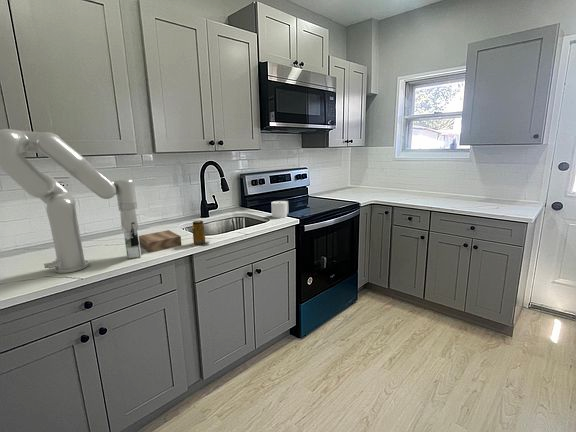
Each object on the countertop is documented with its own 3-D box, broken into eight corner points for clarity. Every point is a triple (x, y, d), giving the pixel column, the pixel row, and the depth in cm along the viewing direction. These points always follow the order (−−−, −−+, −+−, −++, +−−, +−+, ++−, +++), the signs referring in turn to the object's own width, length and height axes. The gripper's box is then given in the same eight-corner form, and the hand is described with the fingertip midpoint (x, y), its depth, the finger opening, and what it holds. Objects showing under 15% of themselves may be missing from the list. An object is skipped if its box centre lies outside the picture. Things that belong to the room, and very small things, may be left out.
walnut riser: (149, 252, 155) (148, 243, 153) (139, 245, 166) (138, 236, 165) (181, 245, 165) (180, 236, 164) (169, 238, 176) (168, 230, 175)
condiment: (194, 241, 171) (192, 220, 168) (210, 241, 171) (208, 219, 169) (191, 246, 164) (189, 223, 161) (208, 245, 164) (206, 222, 162)
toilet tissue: (269, 217, 221) (269, 203, 219) (275, 213, 233) (274, 200, 230) (284, 218, 218) (283, 204, 216) (289, 214, 229) (289, 200, 227)
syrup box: (141, 253, 154) (137, 224, 151) (140, 257, 148) (136, 227, 145) (128, 255, 152) (123, 225, 148) (127, 259, 146) (122, 228, 143)
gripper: (113, 204, 149) (118, 241, 153) (124, 210, 136) (129, 250, 140) (130, 202, 153) (135, 238, 157) (142, 207, 141) (147, 246, 145)
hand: (132, 243), depth 149 cm, fingers closed on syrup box, 7 cm apart
